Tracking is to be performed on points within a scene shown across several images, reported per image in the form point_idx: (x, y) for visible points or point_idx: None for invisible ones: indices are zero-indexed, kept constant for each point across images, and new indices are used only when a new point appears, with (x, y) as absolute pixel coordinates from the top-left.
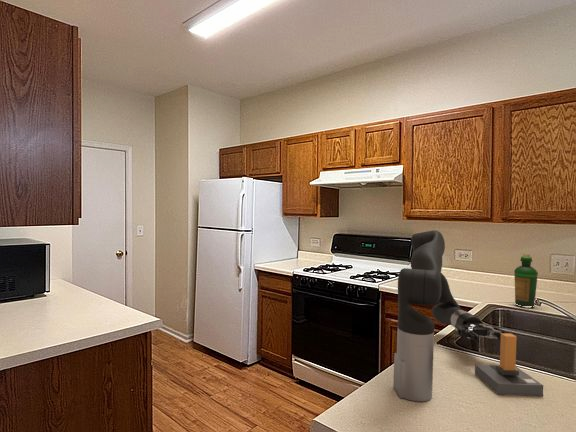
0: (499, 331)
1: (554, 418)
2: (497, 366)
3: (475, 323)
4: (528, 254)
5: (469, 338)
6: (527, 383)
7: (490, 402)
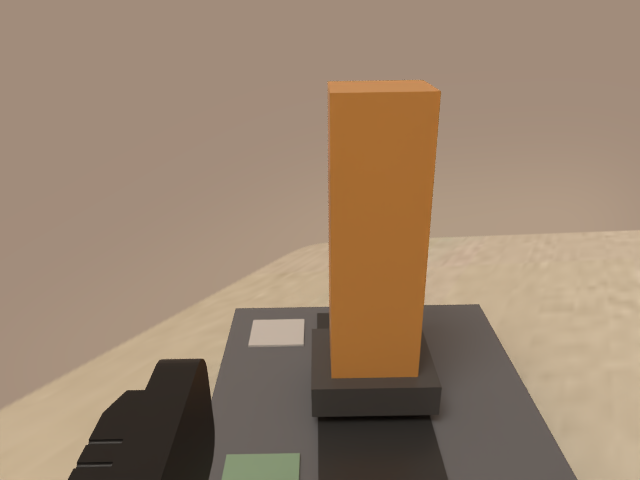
0: None
1: (327, 262)
2: (436, 375)
3: None
4: None
5: None
6: (312, 315)
7: (526, 309)
